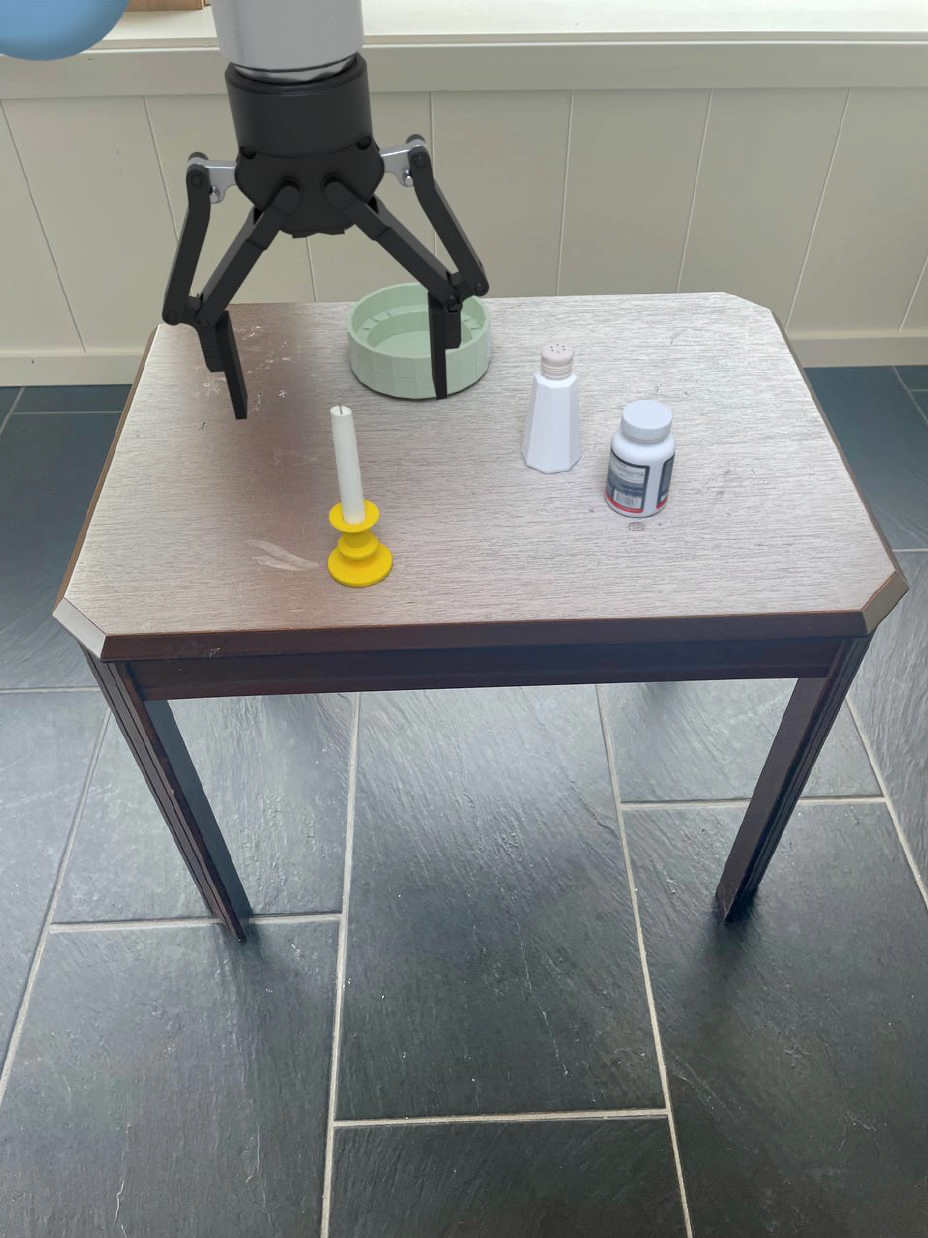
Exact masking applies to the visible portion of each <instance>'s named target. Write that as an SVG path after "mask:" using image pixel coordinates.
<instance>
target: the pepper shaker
mask: <svg viewBox="0 0 928 1238" xmlns="http://www.w3.org/2000/svg"><path fill="white" fill-rule="evenodd" d="M575 351H576V350H575V349H574V347H573V346H572V345H571V344H570V343H568V342H565V341H561V340H553V341H549V342H546V343H544V344H543V345H542V346H541V348H540V352H539V353H540V368H539V369H538V370H536V371H535V373H533V378H532V383H531V387H530V388H531V389H530V394H529V401H528V407H527V414H526V419H525V426H524V431H523V432H524V433H523V439H522V445H521V450H520V451H521V454H522V457H523V459H524V462H525V465H526V466H527V467H529V468H531V469H534V470H536V471H539V472H541V473H544V474H546V475H549V474H555V473H556V474H557V473H563V472H569V471H570V470H571V469H572V468H573V467H574V466H575V465H576V463H578V461H579V460H580V459H581V458H582V456H581V455H582V454H581V453H582V451H581V448H582V447H581V423H580V422H581V421H580V420H581V419H580V393H579V392H580V391H579V378H578V375H577V374H576V372H575V369H574V368H573V366H574V356H575Z"/></svg>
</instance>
